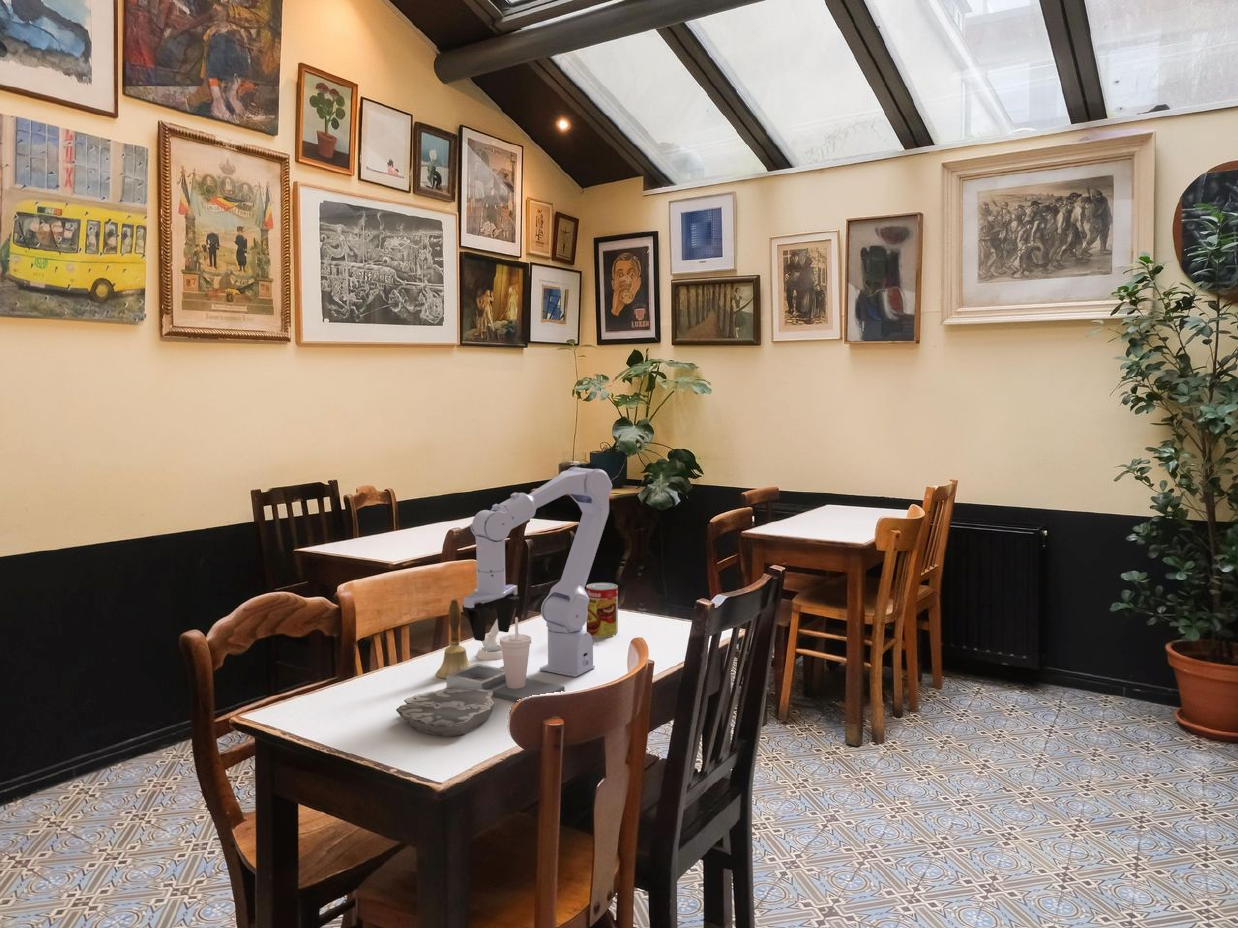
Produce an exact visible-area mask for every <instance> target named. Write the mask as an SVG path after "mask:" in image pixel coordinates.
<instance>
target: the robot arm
mask: <svg viewBox="0 0 1238 928" xmlns="http://www.w3.org/2000/svg"><path fill="white" fill-rule="evenodd" d="M612 489H613V484H612V481H611V479H610V477H609V475H608V473H607V472H606V471H605V470H603V469H600V468H594V469H593V468H583V467H579V466H572V467H569V468H568V469H567V470H564V471H561V472H560V473H559V474H558V475H556V477H553V479H550V480H549V481H548V482H546V483H544V484H543V485H541V486H539V487H538V488H536V489H535V490H533V491H532V492H530V493H528V494H527V493H525V492H513V493H512V494H510V498H508V499H506V500H504V501H502V502H501V503H499V504H498V503H495V504H493V505H492V506H491V507H492V508H491V509H490V510H488V509H483V510H480V511H479V512H477V513H476V514H475V516H474V517H473V519H472V522H471V524H470V525H469V528H470V531H471V532H472V534H473V536H474V537H475V545H476V547H475V548H476V550H475V551H476V552H475V553H476V588H475V589H473V592H472V593H471V594H468V595H467V596H463V604H462V611H463V613H464V614H465V616H466V618H467V620H468V622H469V625H470V628H471V631H472V635H473V639H474V640H475V641H477V642H482V641H484V640H485V636H486V630H487V629H486V628H487V621H488V620H487V619H488V615H489V612H490V610H491V608H490V607H484V605H483V604H485V603H489V602H493V603H494V607H495V611H496V617H497V618H496V620H498V629H499V632H502V633H508V632H510V628H511V623H512V618H513V615H514V612H515V610H516V608H517V606H518V605H519V603H520V597H519V596H516V595H518V585H516V584H511V583H510V584H506V538H507V537H508V536H509V534H510V532H511V531H512V529H513V530H514V529H515V528H517V527H518V526H520V525H522V524H523V523H526V522H527V521H529V520H530V519H532V518H534V517H535V515H536V511H537V509H538V508H540V507H542V506H544V505H547V504H548V503H550V502H552V501H554V500H557V499H559V498H561V497H562V496H564V495H567V494H568V495H569V496H570V498H572V500H573V501H574V502H575V503H576V504H577V505H578V507H579V509H580V511H581V513H582V514H581V517H580V521H579V523H578V527H577V530H576V532H575V535H574V539H573V541H572V545H571V548H570V551H569V554H568V557H567V560H566V563H565V566H564V569H563V572H562V575H561V577H560V580H559V581H558V582H557V583H556V584H554V585H553V586H552V587H551V588H550V591H549V593H548V595H546V598H544V600H543V602H542V603H541V607H540V614H541V617H542V619H543V621H545V622H546V627H547V664H546V665H545V664H544V665H542V666H541V667H539V670H540V671H543V672H549V673H554V674H559V675H564V676H569V677H573V678H576V677H578V676H580V675H582V674H585V673H586V672H588V671H590V670H593V669H595V668H596V666H595V665H594V640H593V636H591V634H590V633H588V632H586V631H585V630H583V627H584V626H585V625H586V621H587V617H588V609H587V608H588V603H589V597H588V595H587V593H586V589H585V587H586V586H587V582H588V579H589V576H590V573H591V570H592V566H593V563H594V560H595V557H596V553H597V550H598V548H599V544H600V541H601V538H602V535H603V532H604V530H605V526H606V522H607V520H608V517H609V514H610V495H611V492H612Z"/></svg>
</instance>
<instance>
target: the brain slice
mask: <svg viewBox="0 0 1238 928" xmlns="http://www.w3.org/2000/svg"><path fill="white" fill-rule="evenodd" d="M493 698H494V697H493V691H491V690H485V689H473V688H452V689H450V688H447V689H439V690H436V691H434V690H433V691H428V692H423V693H420V694H415V695H412V696H411V697H407V698H406V699H404V701H403V702H405V704H402V705H400V706H398V707H397V708H396V709H395V711H396V713H398V715H399V716H400V717H401V718H402V719H403V720H405V721H407V722H408V723H409V725H410V726H411V727H413V728H415V729H416V730H417V731H418V732H421V733H422V734H424V733H425V734H426V735H429V736H431V735H432V736H436V735H440V736H441V737H445V738H448V737H459V736H461V734H462V735H463V734H464V735H466V734H468V733H469V732H470V731H472V730H474V729H475V727H476V726H477V727H479V726H481V725H482V724H483V723H485V722H486V721H487V720H488V719H489V717H491V715H492V714H493V711H494V710H493V709H494V706H495V701H494V699H493ZM480 724H481V725H480ZM478 725H479V726H478ZM477 727H476V728H477ZM473 728H474V729H473ZM471 729H472V730H471ZM469 730H470V731H469ZM468 731H469V732H468ZM465 733H466V734H465Z"/></svg>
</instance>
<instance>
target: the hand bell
mask: <svg viewBox="0 0 1238 928" xmlns="http://www.w3.org/2000/svg"><path fill="white" fill-rule="evenodd" d="M461 617H462V613H461V608H460V605H459V601H458V599H455V598H454V599H451V601H450V605H449V607H448V622H449V625H450V637H451V638H450V646H447V648H445V649H444V655H443V660H442V664H441V666H440V667H439V668H438V669H437V671H436V673H435V675H436V677H437V678H439V679H445V680H446V676H447V675H449V674H452V673H454V672H457V671H460V670H462V669H465V668H467V667H470V666H472V665H471V663H470V662H469V660H468V655H467V649H466V647H464V646H463V645H460V638H459V637H460V632H459V631H460V629H459V627H460V624H461Z"/></svg>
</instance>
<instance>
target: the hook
mask: <svg viewBox="0 0 1238 928" xmlns="http://www.w3.org/2000/svg"><path fill="white" fill-rule="evenodd" d="M499 632H500V631H499V629H498V620H497V619H496V620H495V621H494V623H493V625H492V627H491V629H490V630H489V633H488V634H487V635H485V640H484V641H481V643H482V646H481V647H479V649H478V650H477V653H476V655H475V657H476V658H477V657H478V658H477V659H479V658H480V659H479V660H484V661H498V660H503V655H502V647H501V645H500V644H498V643H499V640H498V634H499ZM486 651H487V652H486Z"/></svg>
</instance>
